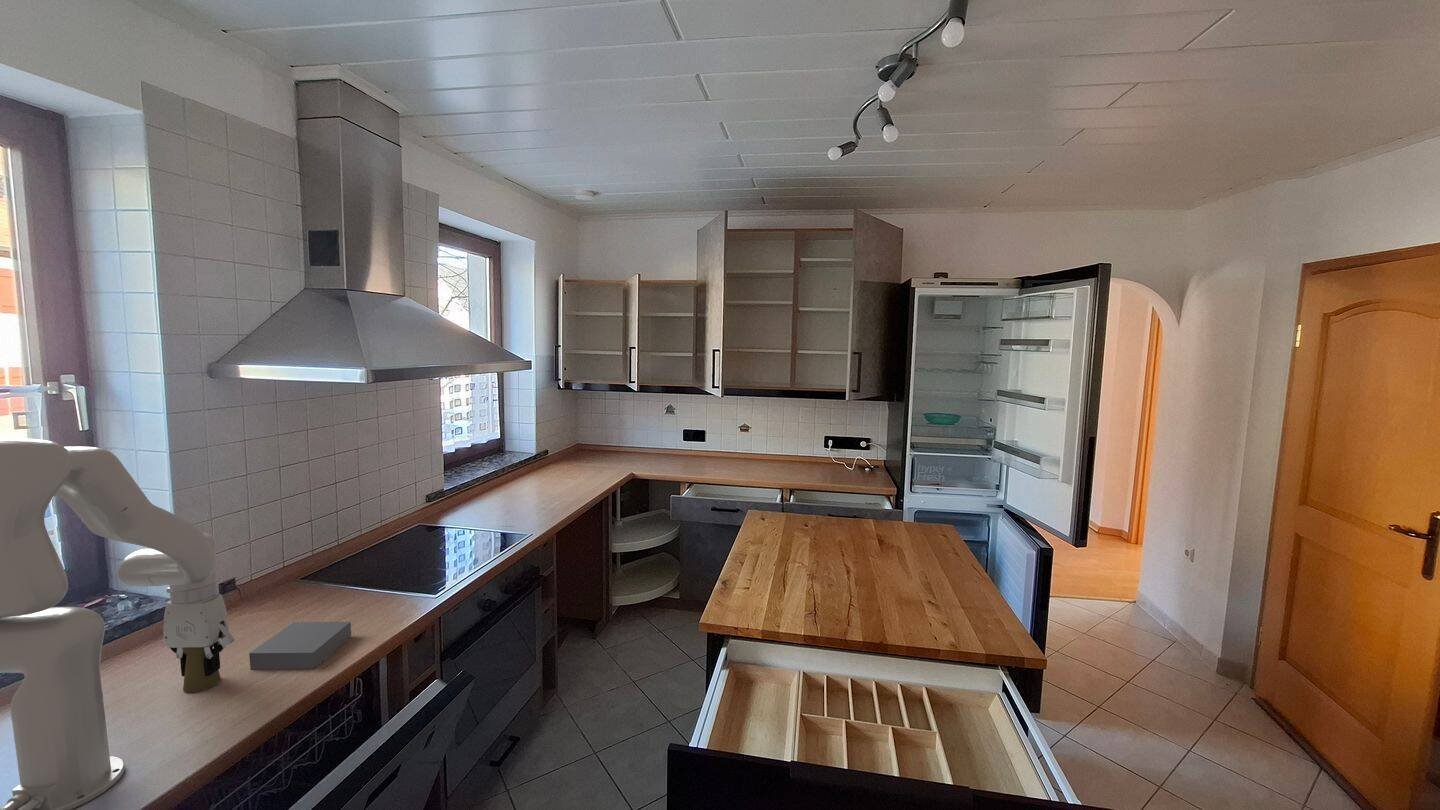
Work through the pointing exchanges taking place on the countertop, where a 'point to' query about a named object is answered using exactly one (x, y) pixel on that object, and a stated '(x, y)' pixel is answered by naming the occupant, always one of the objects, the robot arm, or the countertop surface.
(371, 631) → the countertop surface
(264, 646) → the base block
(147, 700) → the countertop surface
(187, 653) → the cork
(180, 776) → the countertop surface
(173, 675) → the countertop surface
